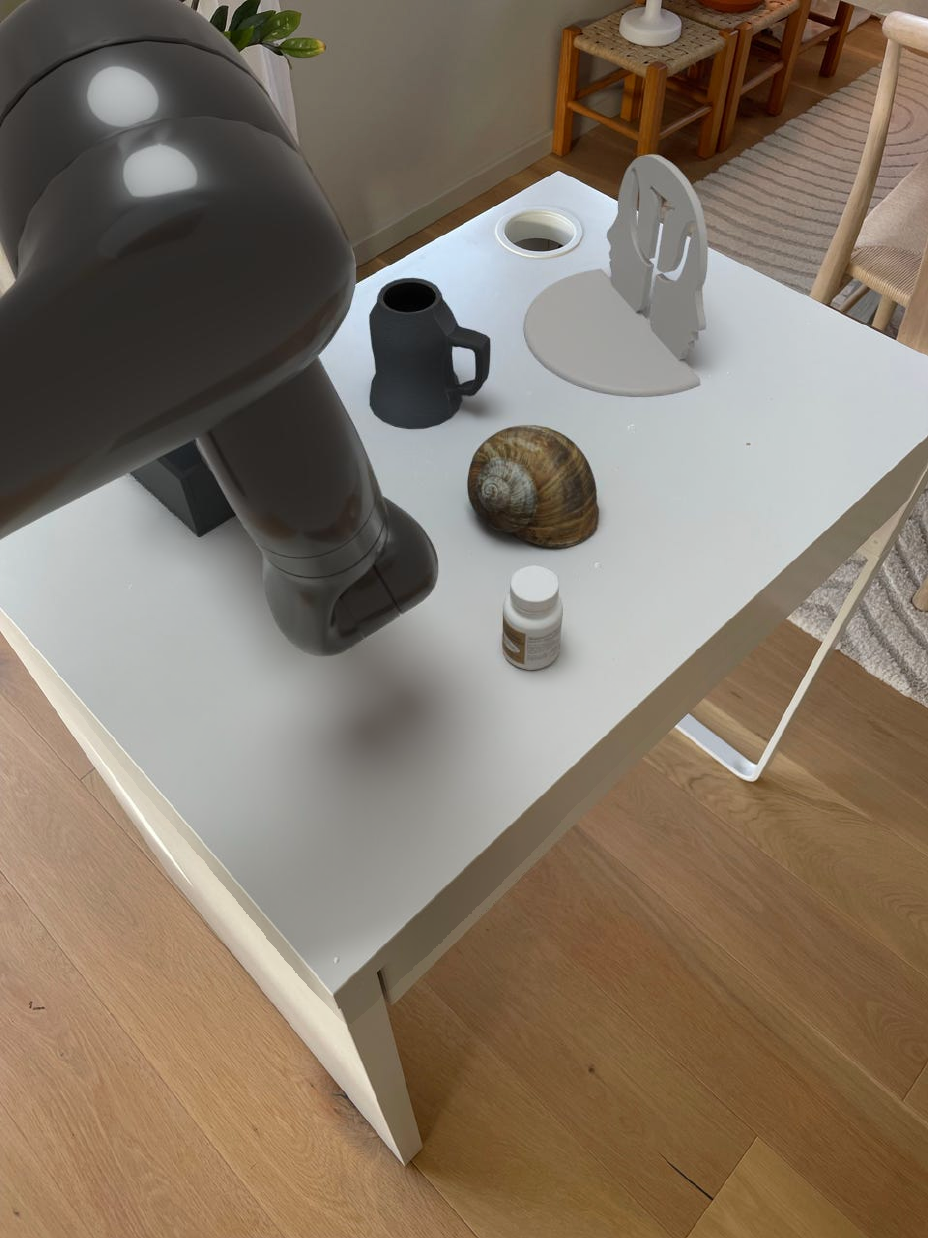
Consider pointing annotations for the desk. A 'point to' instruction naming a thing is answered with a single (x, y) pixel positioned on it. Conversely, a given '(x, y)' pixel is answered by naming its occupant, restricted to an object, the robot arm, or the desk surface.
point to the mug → (420, 356)
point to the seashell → (534, 486)
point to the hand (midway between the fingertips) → (168, 314)
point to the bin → (186, 488)
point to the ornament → (631, 296)
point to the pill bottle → (532, 618)
